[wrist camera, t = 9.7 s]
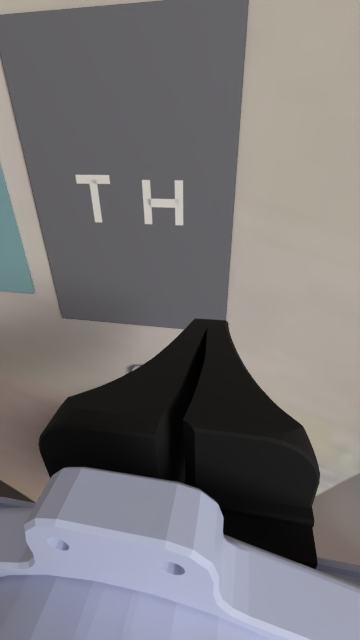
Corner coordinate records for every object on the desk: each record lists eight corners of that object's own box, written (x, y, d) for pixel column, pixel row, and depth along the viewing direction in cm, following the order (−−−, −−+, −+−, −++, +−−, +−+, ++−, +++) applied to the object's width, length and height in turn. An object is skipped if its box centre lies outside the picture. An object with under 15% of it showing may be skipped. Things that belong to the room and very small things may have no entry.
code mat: (225, 331, 23) (224, 333, 23) (63, 316, 26) (62, 318, 25) (249, -6, 14) (249, -8, 14) (-6, 16, 16) (-9, 15, 16)
